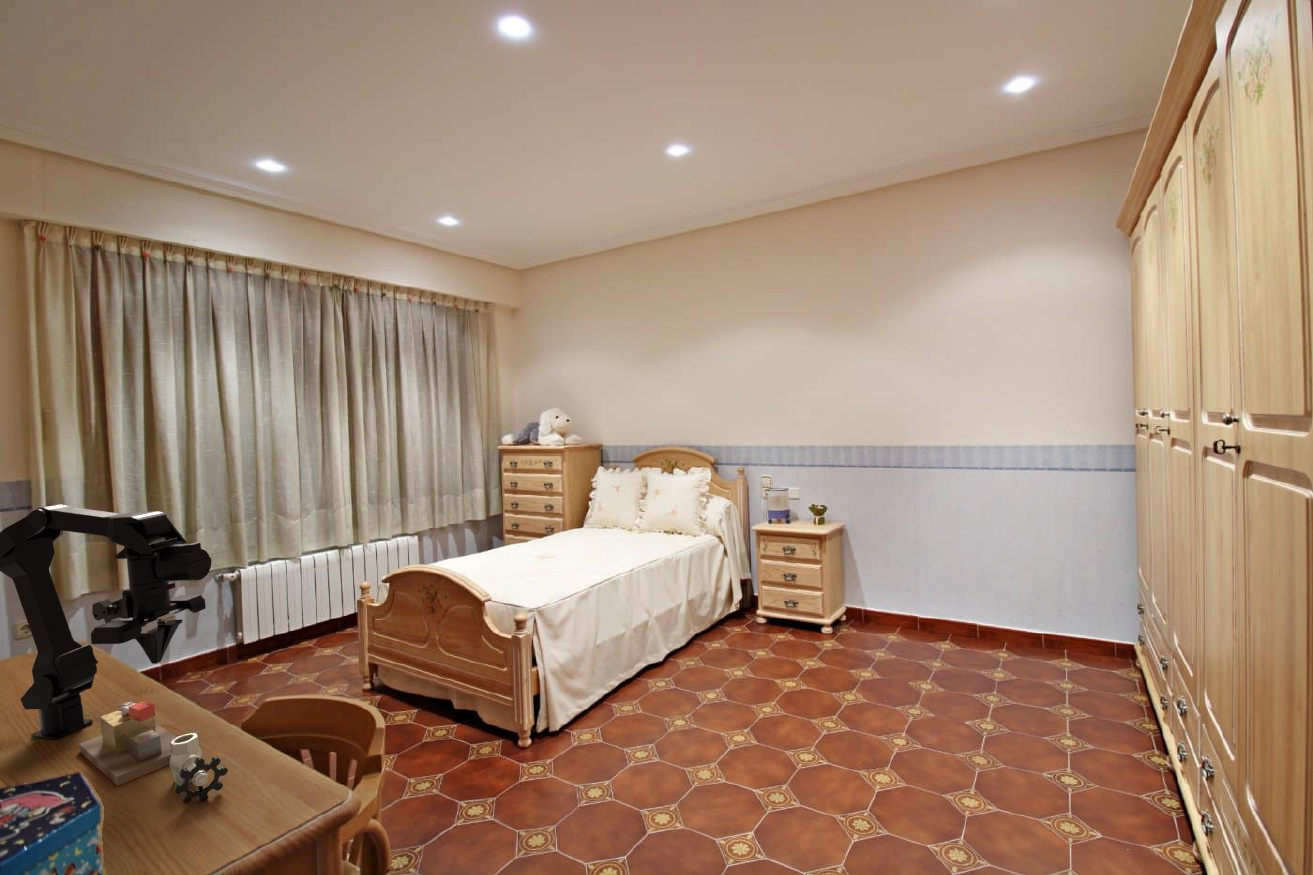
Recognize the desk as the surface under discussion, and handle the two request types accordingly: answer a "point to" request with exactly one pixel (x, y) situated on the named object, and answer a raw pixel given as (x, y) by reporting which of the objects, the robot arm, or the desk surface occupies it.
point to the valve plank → (126, 758)
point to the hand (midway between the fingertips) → (156, 662)
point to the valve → (193, 768)
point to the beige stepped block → (130, 735)
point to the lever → (138, 710)
